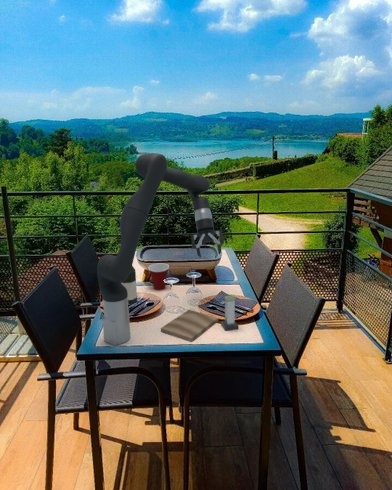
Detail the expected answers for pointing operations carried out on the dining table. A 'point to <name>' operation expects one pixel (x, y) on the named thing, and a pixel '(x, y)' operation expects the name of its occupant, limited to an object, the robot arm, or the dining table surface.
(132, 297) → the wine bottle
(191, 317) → the serving board
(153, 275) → the plastic cup
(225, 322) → the square capped column
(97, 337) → the dining table surface
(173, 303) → the dining table surface
